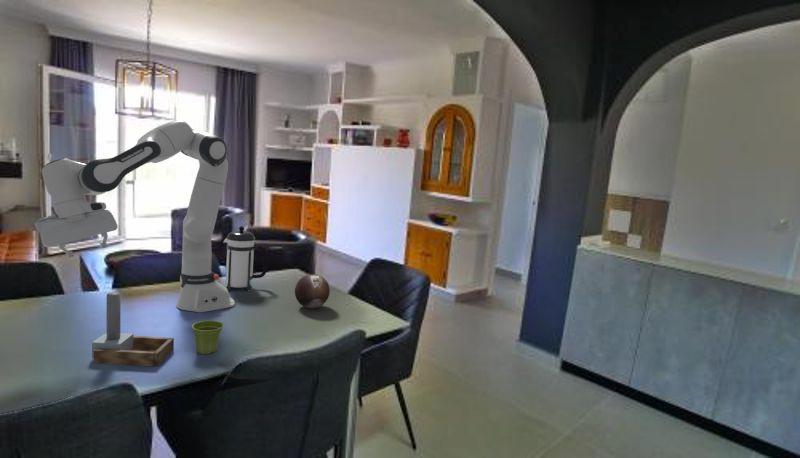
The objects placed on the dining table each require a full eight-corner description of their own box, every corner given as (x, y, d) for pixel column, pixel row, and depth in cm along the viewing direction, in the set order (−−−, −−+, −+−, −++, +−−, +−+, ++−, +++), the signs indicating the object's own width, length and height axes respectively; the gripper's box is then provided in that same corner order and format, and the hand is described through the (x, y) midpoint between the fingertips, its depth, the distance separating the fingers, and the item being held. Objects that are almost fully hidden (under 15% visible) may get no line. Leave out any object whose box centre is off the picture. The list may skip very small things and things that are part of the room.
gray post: (133, 348, 145) (134, 291, 142) (120, 359, 137) (120, 298, 134) (106, 347, 144) (107, 289, 141) (92, 358, 136) (91, 297, 134)
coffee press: (237, 294, 209) (240, 230, 205) (215, 287, 217) (217, 225, 213) (267, 287, 224) (270, 227, 220) (245, 280, 232) (248, 222, 228)
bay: (173, 349, 148) (173, 338, 147) (157, 366, 136) (157, 353, 136) (115, 346, 146) (115, 334, 146) (93, 363, 135) (93, 350, 134)
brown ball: (304, 315, 191) (307, 280, 189) (287, 304, 202) (289, 271, 200) (334, 310, 201) (337, 277, 199) (317, 300, 212) (319, 269, 210)
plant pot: (197, 343, 154) (197, 319, 153) (225, 345, 155) (226, 321, 154) (186, 355, 145) (187, 329, 144) (217, 357, 146) (218, 331, 144)
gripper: (33, 218, 135) (50, 263, 137) (110, 202, 148) (124, 242, 150) (31, 220, 139) (47, 263, 141) (106, 203, 153) (120, 243, 155)
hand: (88, 252), depth 146 cm, fingers open, 8 cm apart
